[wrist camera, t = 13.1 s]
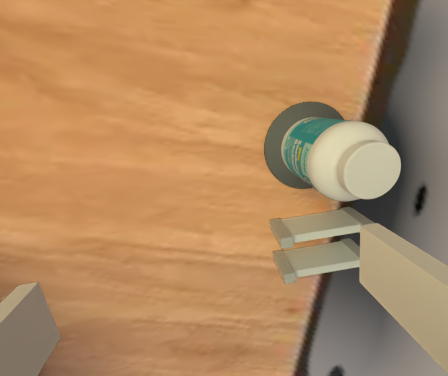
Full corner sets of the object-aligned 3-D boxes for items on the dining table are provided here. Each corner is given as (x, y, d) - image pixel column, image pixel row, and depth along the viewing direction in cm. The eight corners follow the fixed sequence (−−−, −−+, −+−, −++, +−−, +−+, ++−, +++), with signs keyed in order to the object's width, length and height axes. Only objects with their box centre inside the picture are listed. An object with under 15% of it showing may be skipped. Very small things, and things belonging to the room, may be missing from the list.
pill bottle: (269, 135, 33) (312, 152, 20) (323, 105, 32) (403, 103, 19) (293, 185, 35) (346, 230, 22) (344, 158, 34) (429, 188, 22)
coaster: (268, 193, 36) (269, 194, 35) (259, 109, 32) (260, 109, 32) (348, 180, 36) (349, 181, 35) (347, 95, 33) (349, 95, 32)
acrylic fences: (273, 259, 39) (284, 284, 33) (269, 219, 37) (280, 238, 31) (349, 246, 39) (373, 268, 34) (349, 206, 37) (374, 223, 32)
